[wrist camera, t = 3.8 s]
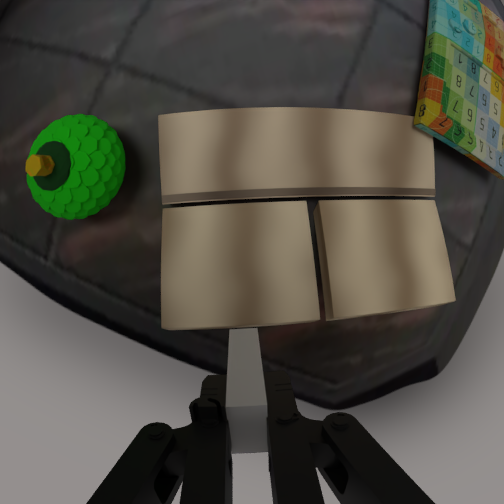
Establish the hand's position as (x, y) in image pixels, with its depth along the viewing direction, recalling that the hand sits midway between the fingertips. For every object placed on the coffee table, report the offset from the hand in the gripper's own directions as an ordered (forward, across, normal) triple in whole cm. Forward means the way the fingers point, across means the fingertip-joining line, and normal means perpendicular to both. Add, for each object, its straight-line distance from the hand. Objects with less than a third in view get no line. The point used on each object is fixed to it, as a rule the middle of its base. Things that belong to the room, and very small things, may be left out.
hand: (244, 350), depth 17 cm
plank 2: (+9, +12, +2) cm, 15 cm away
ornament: (+11, -12, +11) cm, 20 cm away
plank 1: (+8, 0, +2) cm, 9 cm away
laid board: (+11, +6, +11) cm, 17 cm away
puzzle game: (+11, +23, +21) cm, 33 cm away
